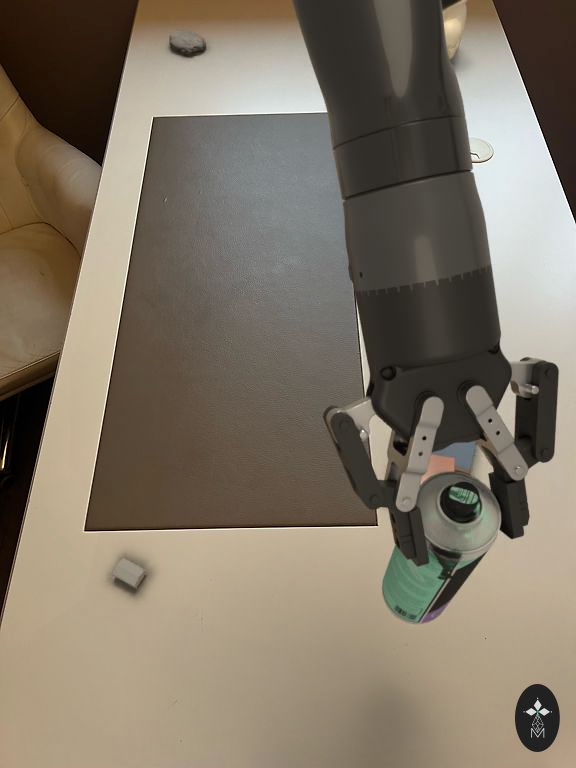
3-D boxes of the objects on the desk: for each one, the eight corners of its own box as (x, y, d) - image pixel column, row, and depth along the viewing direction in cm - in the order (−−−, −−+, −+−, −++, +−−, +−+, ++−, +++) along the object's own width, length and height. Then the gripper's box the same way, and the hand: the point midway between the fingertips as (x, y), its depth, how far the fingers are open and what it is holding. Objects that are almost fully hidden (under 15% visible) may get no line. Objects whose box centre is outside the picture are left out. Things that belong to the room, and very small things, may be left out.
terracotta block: (448, 473, 72) (455, 457, 69) (447, 505, 70) (454, 490, 67) (413, 468, 73) (418, 452, 70) (411, 499, 71) (416, 484, 67)
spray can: (453, 621, 51) (526, 535, 34) (387, 628, 51) (428, 545, 34) (439, 556, 54) (499, 448, 37) (376, 561, 54) (409, 456, 37)
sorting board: (477, 435, 76) (480, 429, 75) (458, 523, 70) (460, 518, 69) (413, 416, 78) (414, 410, 77) (388, 501, 72) (390, 496, 70)
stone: (194, 33, 131) (193, 22, 129) (211, 51, 127) (210, 40, 125) (164, 42, 129) (162, 31, 128) (180, 60, 125) (179, 49, 123)
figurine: (417, 38, 128) (434, -76, 112) (463, 43, 127) (487, -71, 110) (407, 73, 121) (423, -43, 104) (455, 79, 120) (480, -37, 103)
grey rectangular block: (123, 560, 68) (120, 555, 67) (149, 570, 68) (146, 565, 66) (113, 580, 67) (109, 576, 66) (139, 590, 67) (136, 586, 65)
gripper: (309, 302, 30) (372, 612, 33) (579, 240, 32) (612, 540, 35) (283, 296, 37) (337, 551, 41) (504, 246, 39) (537, 494, 43)
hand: (464, 545), depth 38 cm, fingers closed on spray can, 5 cm apart
